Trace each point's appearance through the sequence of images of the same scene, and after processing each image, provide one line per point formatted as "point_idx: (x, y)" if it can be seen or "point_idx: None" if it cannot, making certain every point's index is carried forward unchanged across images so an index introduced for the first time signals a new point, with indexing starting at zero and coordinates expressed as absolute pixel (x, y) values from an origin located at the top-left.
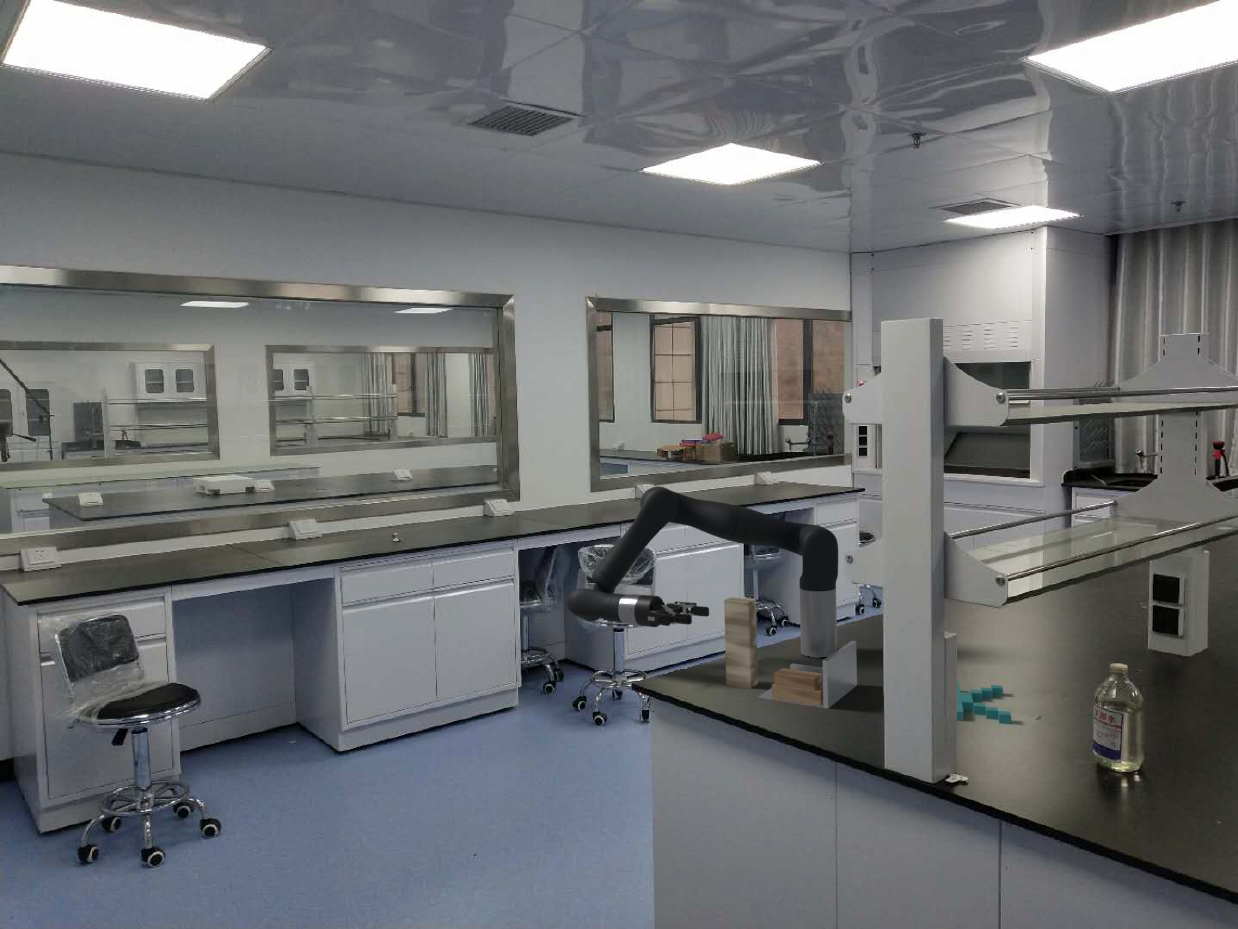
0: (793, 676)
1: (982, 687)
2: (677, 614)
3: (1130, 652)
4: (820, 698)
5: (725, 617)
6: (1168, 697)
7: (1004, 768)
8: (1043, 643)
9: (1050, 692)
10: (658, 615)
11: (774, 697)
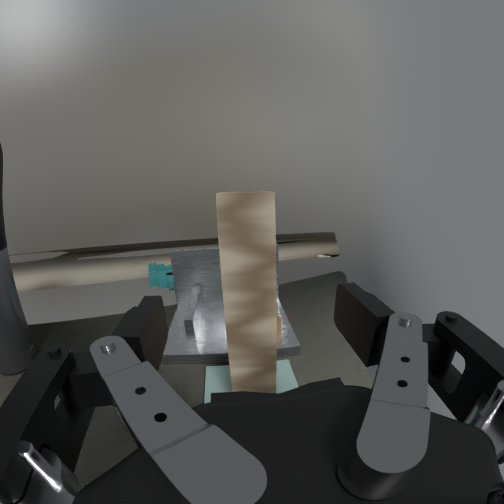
0: None
1: (156, 266)
2: (387, 312)
3: (58, 259)
4: None
5: (275, 246)
6: (139, 248)
7: (292, 252)
8: (31, 274)
9: (140, 262)
10: (493, 346)
11: (284, 333)
